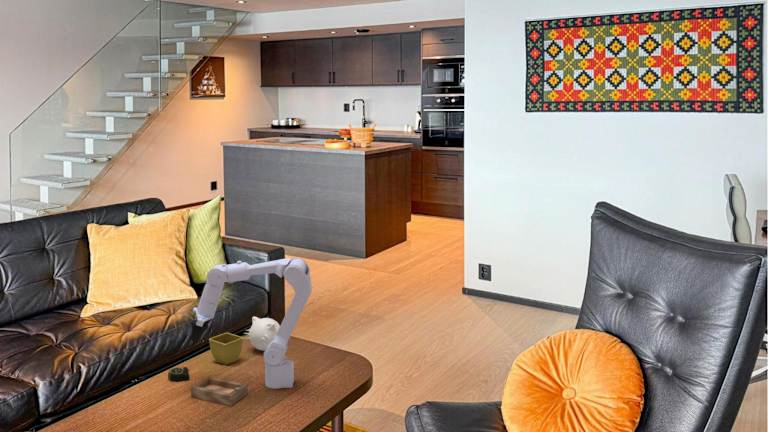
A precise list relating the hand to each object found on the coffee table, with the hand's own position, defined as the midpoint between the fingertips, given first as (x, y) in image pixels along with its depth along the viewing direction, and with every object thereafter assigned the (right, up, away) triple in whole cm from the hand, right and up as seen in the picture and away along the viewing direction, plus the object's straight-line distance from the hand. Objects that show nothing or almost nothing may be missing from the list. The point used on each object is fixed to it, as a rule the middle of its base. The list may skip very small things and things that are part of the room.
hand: (197, 337), depth 221 cm
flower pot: (+5, -13, +22) cm, 26 cm away
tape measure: (-7, -16, +7) cm, 19 cm away
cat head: (+17, -11, +33) cm, 39 cm away
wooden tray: (+9, -17, -7) cm, 21 cm away
